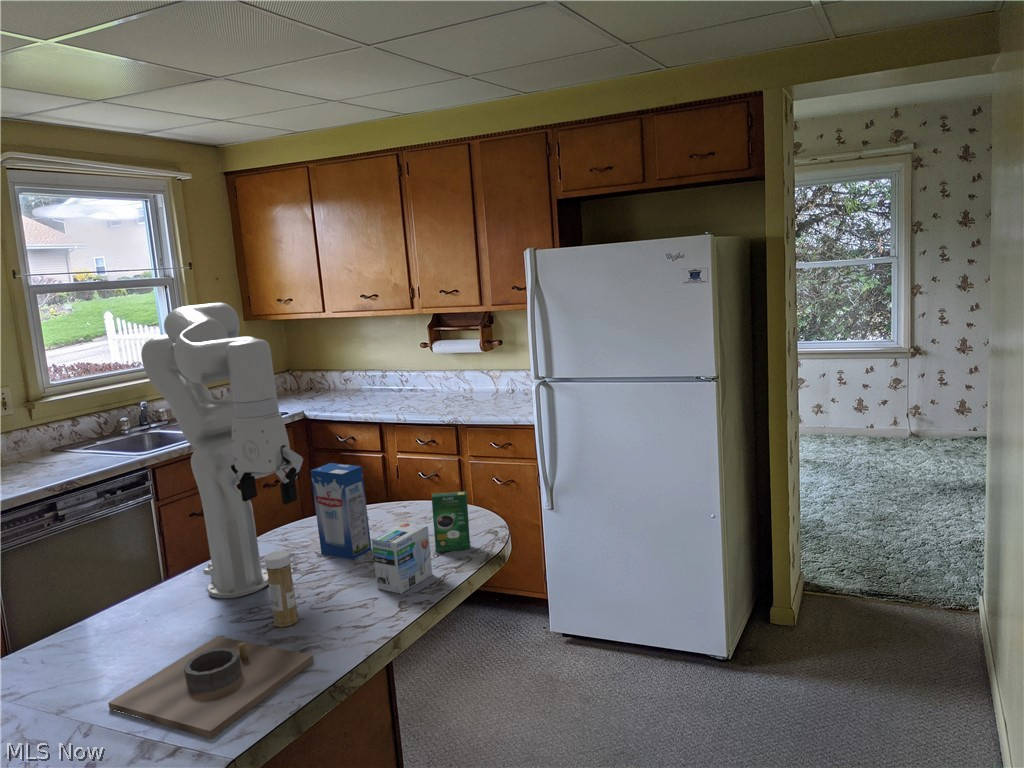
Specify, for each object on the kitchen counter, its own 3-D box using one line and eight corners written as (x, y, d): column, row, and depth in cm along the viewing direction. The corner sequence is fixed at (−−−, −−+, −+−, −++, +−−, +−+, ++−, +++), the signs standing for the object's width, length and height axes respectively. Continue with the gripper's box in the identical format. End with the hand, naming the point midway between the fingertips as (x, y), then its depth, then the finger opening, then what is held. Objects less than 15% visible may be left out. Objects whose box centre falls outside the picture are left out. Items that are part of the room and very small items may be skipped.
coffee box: (471, 544, 177) (466, 489, 175) (471, 549, 174) (466, 493, 172) (436, 548, 177) (430, 493, 175) (435, 553, 174) (430, 497, 172)
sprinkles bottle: (302, 622, 146) (292, 554, 143) (278, 630, 143) (268, 561, 141) (294, 614, 149) (285, 547, 147) (270, 621, 147) (261, 554, 145)
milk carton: (371, 550, 179) (361, 466, 176) (352, 560, 174) (342, 474, 171) (340, 544, 185) (330, 462, 181) (321, 554, 180) (310, 470, 176)
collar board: (109, 709, 121) (104, 685, 121) (218, 642, 141) (215, 620, 140) (211, 738, 112) (207, 712, 111) (313, 661, 131) (310, 638, 130)
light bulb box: (401, 595, 154) (395, 543, 152) (375, 589, 158) (369, 539, 156) (434, 574, 163) (429, 524, 161) (409, 569, 167) (403, 521, 165)
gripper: (205, 412, 140) (219, 504, 143) (278, 413, 132) (292, 510, 135) (236, 404, 147) (249, 491, 149) (308, 404, 139) (320, 497, 142)
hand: (269, 500), depth 142 cm, fingers open, 9 cm apart
